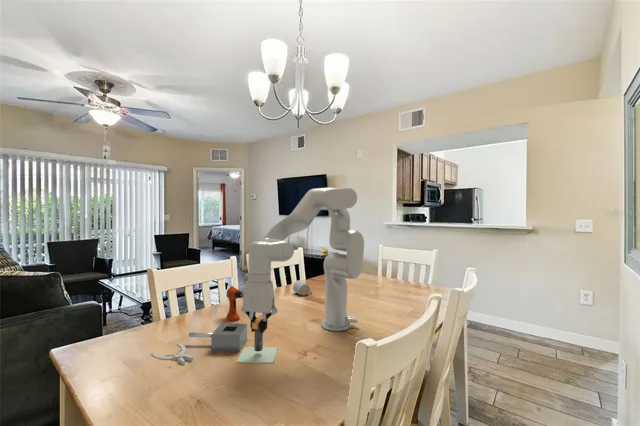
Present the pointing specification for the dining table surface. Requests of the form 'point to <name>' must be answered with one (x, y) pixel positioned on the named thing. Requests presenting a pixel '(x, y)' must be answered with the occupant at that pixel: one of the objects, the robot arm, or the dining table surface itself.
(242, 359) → the mat
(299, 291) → the ceramic mug
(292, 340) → the dining table surface
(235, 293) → the toy drill
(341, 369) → the dining table surface
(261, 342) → the chuck key
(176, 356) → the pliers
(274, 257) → the robot arm
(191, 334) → the block
